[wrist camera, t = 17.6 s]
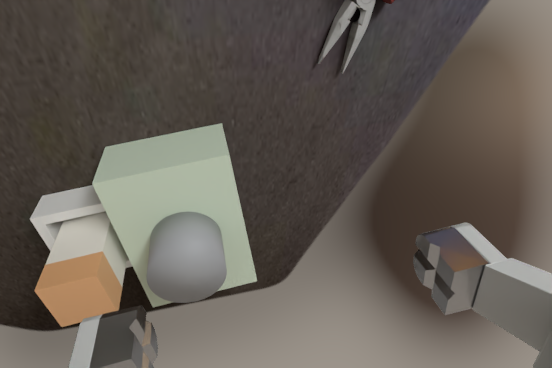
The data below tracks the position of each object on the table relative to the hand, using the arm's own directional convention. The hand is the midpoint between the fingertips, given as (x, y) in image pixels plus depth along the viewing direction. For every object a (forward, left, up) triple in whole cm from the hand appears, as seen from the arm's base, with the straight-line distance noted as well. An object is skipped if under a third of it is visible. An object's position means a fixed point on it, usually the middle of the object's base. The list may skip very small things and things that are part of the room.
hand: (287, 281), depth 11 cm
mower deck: (-1, -19, -29) cm, 35 cm away
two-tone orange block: (-6, -22, -29) cm, 37 cm away
